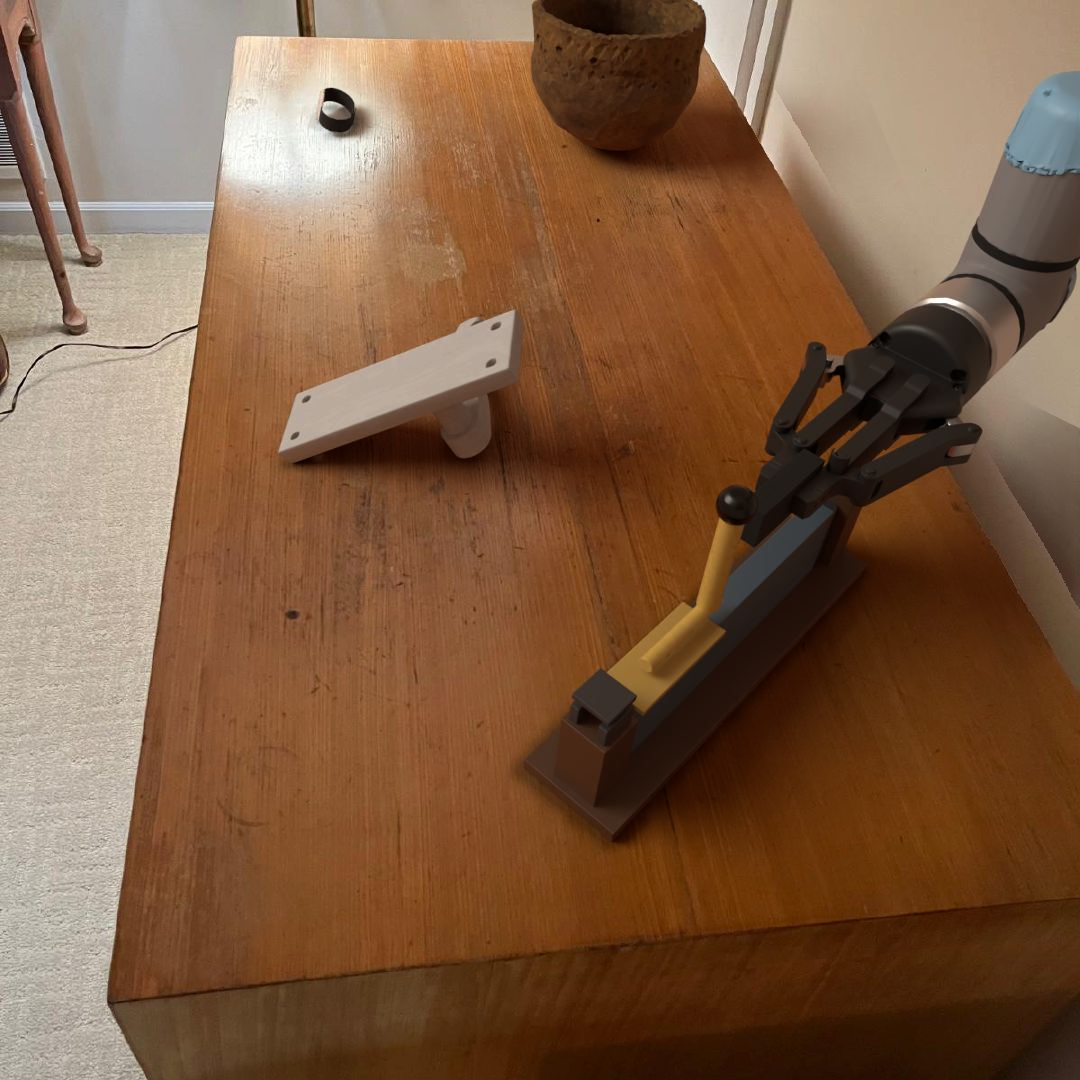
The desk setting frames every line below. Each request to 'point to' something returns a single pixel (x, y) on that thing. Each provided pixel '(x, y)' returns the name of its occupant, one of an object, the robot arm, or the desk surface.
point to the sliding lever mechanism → (695, 672)
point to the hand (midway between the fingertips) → (749, 525)
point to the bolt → (710, 571)
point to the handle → (414, 391)
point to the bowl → (617, 66)
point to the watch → (341, 99)
